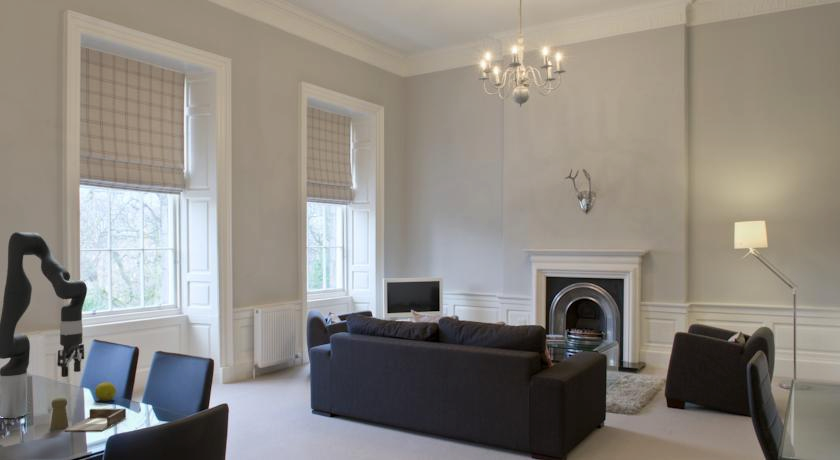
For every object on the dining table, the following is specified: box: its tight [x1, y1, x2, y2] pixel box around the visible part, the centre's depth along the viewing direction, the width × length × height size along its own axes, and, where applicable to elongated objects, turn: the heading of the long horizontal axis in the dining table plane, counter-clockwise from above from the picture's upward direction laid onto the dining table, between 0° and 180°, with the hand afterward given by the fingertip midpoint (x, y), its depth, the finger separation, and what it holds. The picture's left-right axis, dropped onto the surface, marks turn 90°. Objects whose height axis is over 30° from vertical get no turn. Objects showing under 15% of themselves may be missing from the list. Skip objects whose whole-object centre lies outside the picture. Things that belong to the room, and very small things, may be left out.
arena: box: [64, 408, 127, 433], centre depth 238 cm, size 14×18×4 cm
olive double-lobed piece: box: [49, 397, 69, 431], centre depth 235 cm, size 6×6×11 cm
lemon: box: [94, 381, 117, 402], centre depth 274 cm, size 11×8×8 cm
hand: (71, 374), depth 238 cm, fingers open, 8 cm apart
